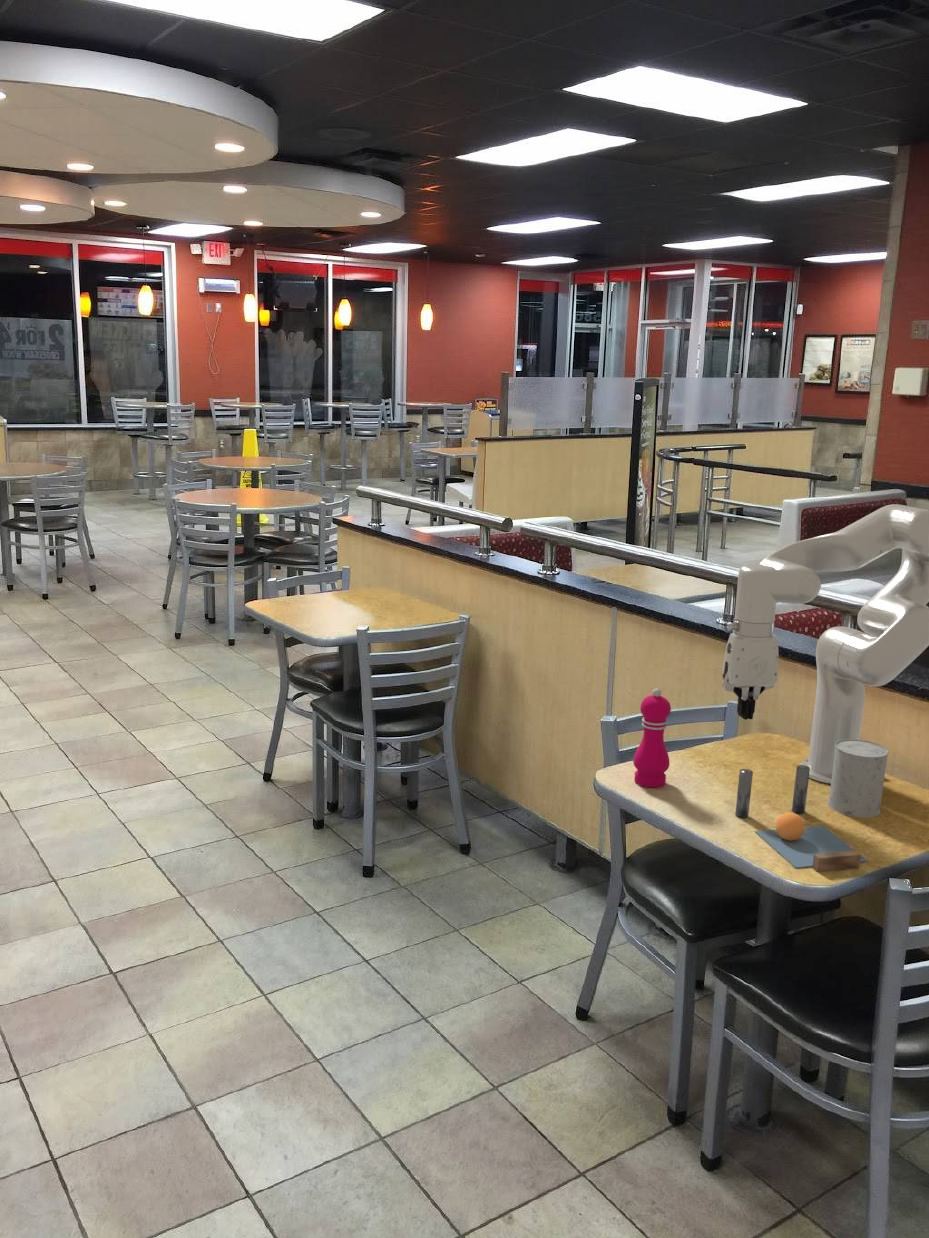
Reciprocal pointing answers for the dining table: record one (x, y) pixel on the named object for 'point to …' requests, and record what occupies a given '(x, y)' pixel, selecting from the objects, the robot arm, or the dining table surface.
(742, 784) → the post
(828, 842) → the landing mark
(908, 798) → the dining table surface
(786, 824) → the ball
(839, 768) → the speckled stone cylinder
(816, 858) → the wall
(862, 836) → the dining table surface
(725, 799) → the dining table surface
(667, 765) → the pepper mill
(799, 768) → the post
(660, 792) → the dining table surface
